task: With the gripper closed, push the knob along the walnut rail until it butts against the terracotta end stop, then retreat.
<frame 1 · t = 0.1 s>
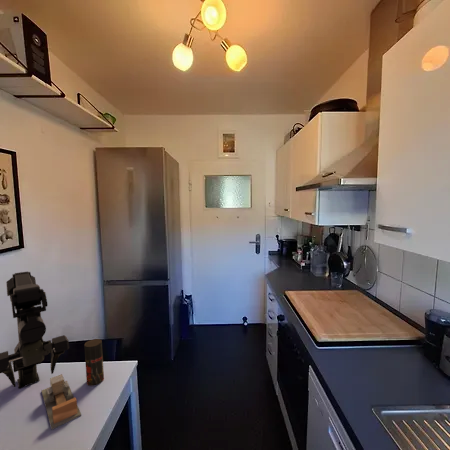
hand: (34, 379, 81), 15 cm above the table, fingers open, 9 cm apart
rail: (60, 403, 92), on the table
deodorant: (95, 381, 103), on the table
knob: (57, 387, 94), point 4 cm above the table, slide at 0.0 cm
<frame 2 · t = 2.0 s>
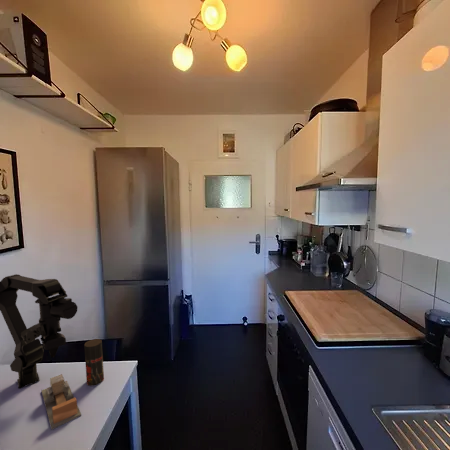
hand: (52, 356, 98), 12 cm above the table, fingers closed
nothing on the table moved.
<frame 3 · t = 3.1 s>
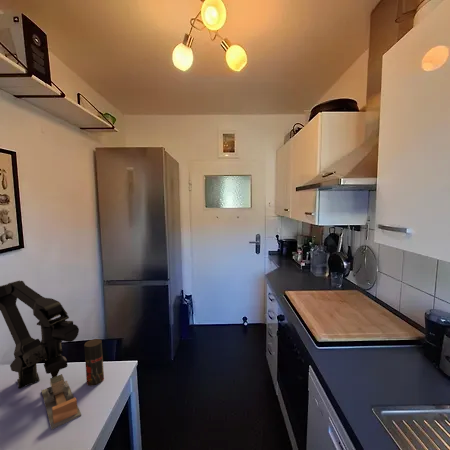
hand: (54, 378, 99), 4 cm above the table, fingers closed
nothing on the table moved.
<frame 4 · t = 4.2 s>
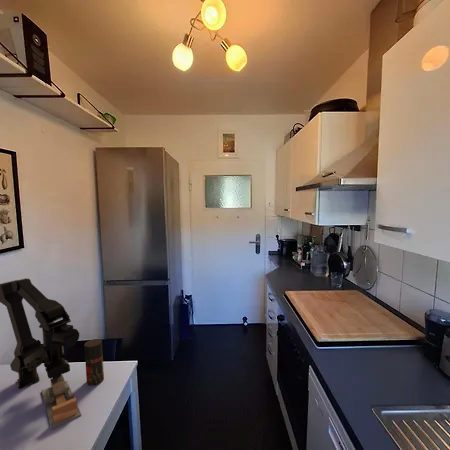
hand: (56, 382, 96), 4 cm above the table, fingers closed
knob: (58, 388, 93), point 4 cm above the table, slide at 0.5 cm, touching gripper
everything else where it was.
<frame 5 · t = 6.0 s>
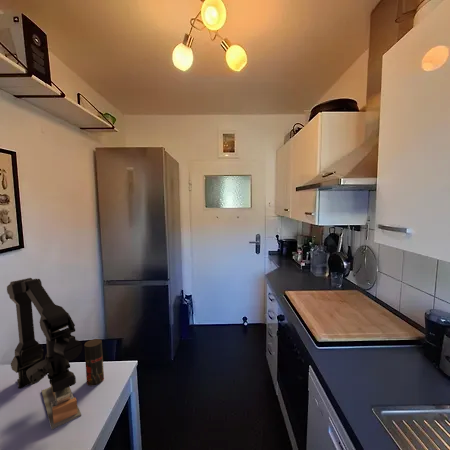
hand: (60, 395, 90), 4 cm above the table, fingers closed
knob: (62, 401, 87), point 4 cm above the table, slide at 9.0 cm, touching gripper
everything else where it was.
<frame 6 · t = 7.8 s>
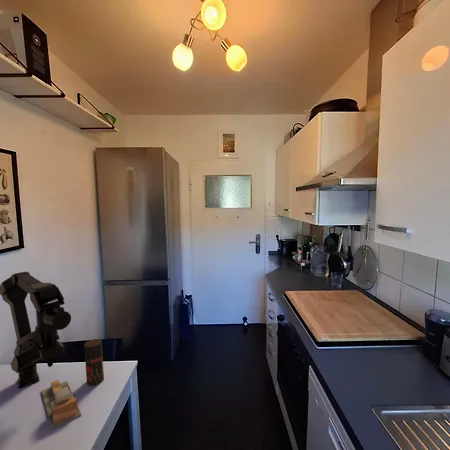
hand: (50, 366, 93), 12 cm above the table, fingers closed
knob: (62, 401, 87), point 4 cm above the table, slide at 9.0 cm
everything else where it was.
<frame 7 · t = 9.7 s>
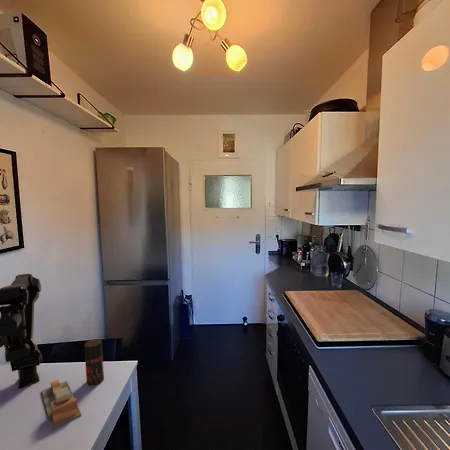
hand: (18, 368, 92), 12 cm above the table, fingers closed
nothing on the table moved.
at the end: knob slide at 9.0 cm; the gripper is holding nothing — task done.
